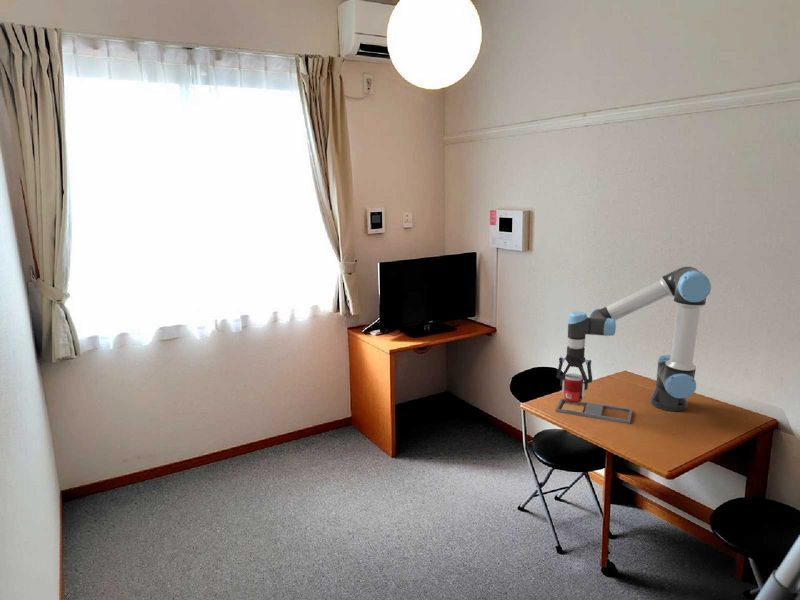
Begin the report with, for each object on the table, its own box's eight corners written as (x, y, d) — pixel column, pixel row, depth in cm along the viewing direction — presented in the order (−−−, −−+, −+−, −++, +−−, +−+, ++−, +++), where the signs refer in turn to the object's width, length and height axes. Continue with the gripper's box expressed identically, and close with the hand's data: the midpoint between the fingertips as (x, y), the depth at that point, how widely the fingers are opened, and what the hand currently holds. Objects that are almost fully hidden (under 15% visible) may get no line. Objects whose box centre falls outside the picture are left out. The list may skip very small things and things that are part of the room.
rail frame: (632, 411, 244) (632, 409, 244) (629, 423, 233) (630, 421, 233) (560, 400, 258) (560, 398, 257) (555, 411, 246) (555, 409, 246)
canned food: (583, 403, 244) (584, 379, 241) (565, 402, 245) (566, 379, 243) (580, 396, 251) (582, 373, 249) (562, 395, 253) (563, 372, 250)
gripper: (601, 346, 241) (598, 395, 247) (553, 341, 250) (551, 388, 256) (599, 351, 235) (596, 401, 240) (550, 346, 244) (548, 393, 249)
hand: (573, 394), depth 248 cm, fingers closed on canned food, 8 cm apart
